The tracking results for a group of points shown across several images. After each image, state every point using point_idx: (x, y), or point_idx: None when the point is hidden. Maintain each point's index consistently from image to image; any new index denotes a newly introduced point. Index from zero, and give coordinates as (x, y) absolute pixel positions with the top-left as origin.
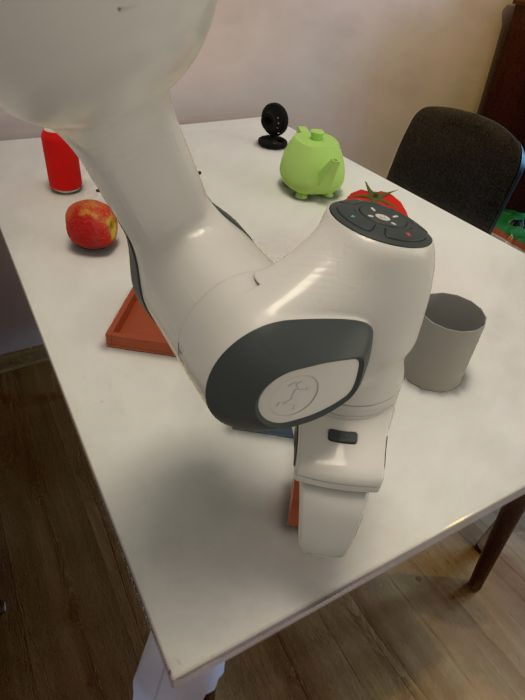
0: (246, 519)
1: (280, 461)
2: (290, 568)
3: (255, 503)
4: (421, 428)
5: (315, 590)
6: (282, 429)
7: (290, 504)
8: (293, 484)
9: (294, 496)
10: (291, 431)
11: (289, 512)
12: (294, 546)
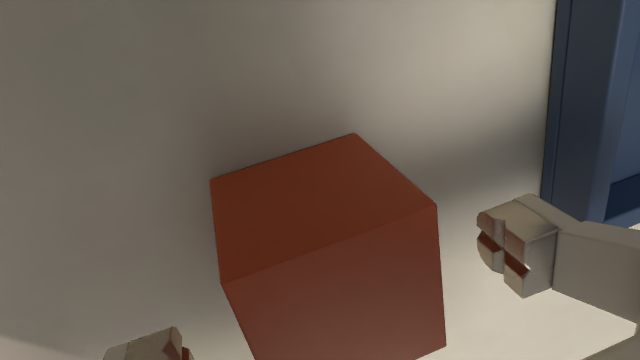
0: (144, 27)
1: (449, 52)
2: (57, 251)
3: (236, 33)
4: (599, 322)
5: (40, 334)
6: (588, 15)
7: (260, 193)
8: (326, 209)
9: (236, 283)
10: (581, 52)
11: (231, 195)
12: (144, 229)
